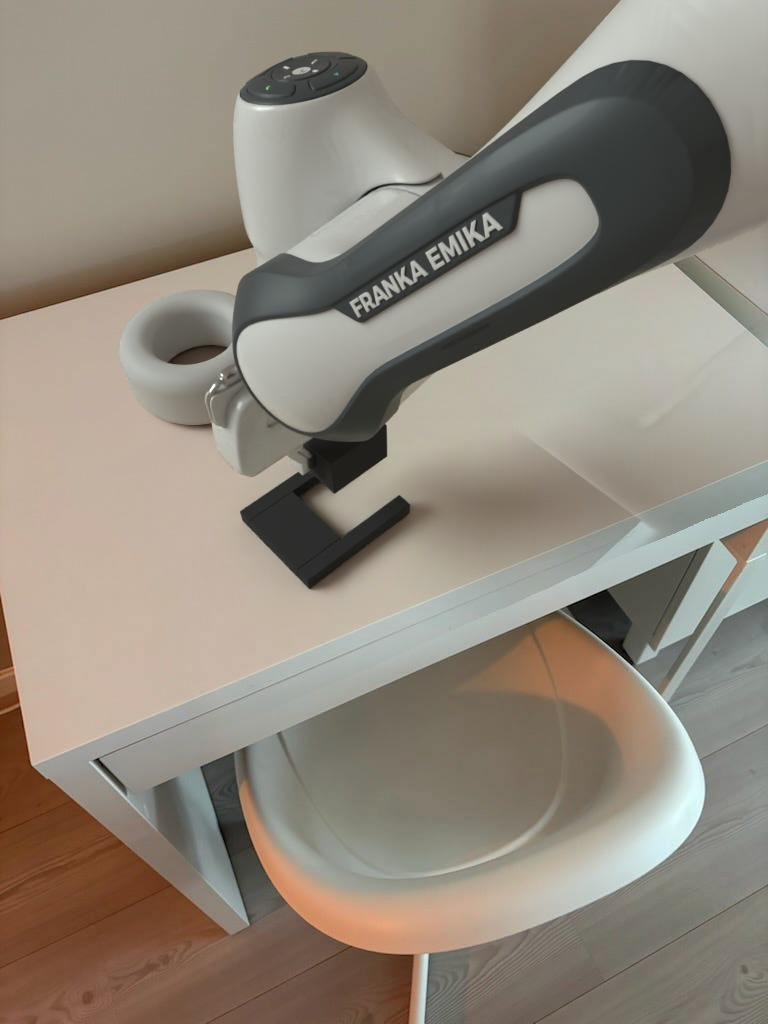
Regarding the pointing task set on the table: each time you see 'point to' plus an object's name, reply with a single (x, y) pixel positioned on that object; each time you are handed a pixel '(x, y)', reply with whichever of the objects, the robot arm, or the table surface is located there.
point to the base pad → (312, 529)
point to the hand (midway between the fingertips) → (338, 443)
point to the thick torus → (168, 334)
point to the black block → (346, 458)
